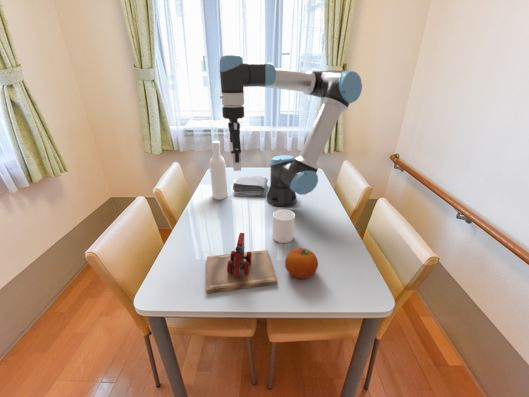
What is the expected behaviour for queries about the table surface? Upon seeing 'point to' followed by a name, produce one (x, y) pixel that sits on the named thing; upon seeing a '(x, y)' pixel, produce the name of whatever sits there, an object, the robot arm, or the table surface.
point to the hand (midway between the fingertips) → (235, 164)
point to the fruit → (301, 263)
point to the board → (257, 277)
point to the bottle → (218, 173)
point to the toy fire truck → (239, 258)
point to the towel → (250, 186)
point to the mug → (283, 226)
